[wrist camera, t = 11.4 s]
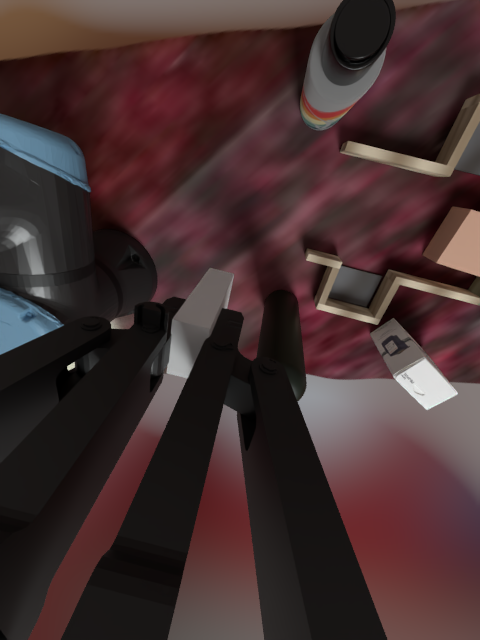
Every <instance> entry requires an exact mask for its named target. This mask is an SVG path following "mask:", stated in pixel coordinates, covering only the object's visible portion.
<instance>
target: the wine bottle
mask: <svg viewBox="0 0 480 640" xmlns="http://www.w3.org/2000/svg"><path fill="white" fill-rule="evenodd" d="M258 357H268V358H272V359H274V360H276V361H278V362H279V363H280V364H282V365H283V367H284V368H285V370H286V373H287V376H288V378H289V381H290V383H291V386H292V389H293V391H294V394H295V397H296V399H297V401H299V400H300V399H301V397H302V396H303V394H304V392H305V389H306V373H305V364H304V354H303V345H302V336H301V326H300V317H299V307H298V301H297V299H296V297H295V296H294V295H293V294H292V293H291V292H289V291H285V290H278V291H275V292H273V293H271V294H270V295H269V296H268V297H267V299H266V301H265V306H264V313H263V319H262V325H261V332H260V338H259V345H258V351H257V358H258Z"/></svg>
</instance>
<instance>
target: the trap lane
mask: <svg viewBox="0 0 480 640" xmlns="http://www.w3.org/2000/svg"><path fill="white" fill-rule="evenodd" d="M340 153H343V154H347V155H351V156H355V157H359V158H363V159H367V160H371V161H375V162H379V163H383V164H387V165H391V166H395V167H399V168H403V169H407V170H411V171H415V172H419V173H423V174H427V175H431V176H435V177H450V176H451V174H452V172H453V170H454V169H455V170H459V171H463V172H467V173H471V174H475V175H479V176H480V94H477V95H475V96H473V97H470V98H468V99H466V100H465V102H464V104H463V106H462V108H461V110H460V112H459V114H458V116H457V118H456V120H455V122H454V124H453V126H452V128H451V130H450V132H449V134H448V136H447V139H446V141H445V143H444V145H443V147H442V149H441V151H440V153H439V155H438V157H437V159H436V161H435V162H432V161H428V160H424V159H420V158H415V157H411V156H407V155H403V154H399V153H395V152H391V151H387V150H383V149H379V148H375V147H371V146H367V145H363V144H359V143H355V142H351V141H347V142H345V143H343V145H342V148H341V150H340ZM305 257H306V260H307V261H311V262H315V263H319V264H322V265H326V266H327V268H326V271H325V273H324V276H323V279H322V281H321V284H320V286H319V289H318V291H317V294H316V296H315V299H314V302H315V306H316V309H319V310H323V311H327V312H330V313H334V314H338V315H342V316H345V317H349V318H353V319H357V320H361V321H364V322H368V323H372V324H376V325H378V323H379V322H380V320H381V318H382V316H383V314H384V313H385V311H386V309H387V307H388V305H389V304H390V302H391V300H392V298H393V296H394V294H395V293H396V291H397V289H398V287H399V285H403V286H407V287H411V288H415V289H418V290H422V291H426V292H430V293H434V294H438V295H442V296H445V297H449V298H453V299H457V300H461V301H465V302H468V303H472V304H476V305H480V277H479V276H477V277H476V279H475V280H474V282H473V283H472V284H471V286H470V287H469V289H468V290H466V289H463V288H459V287H455V286H451V285H447V284H443V283H439V282H436V281H432V280H428V279H424V278H420V277H416V276H412V275H409V274H405V273H401V272H397V271H393V270H389V269H388V271H387V273H386V275H385V277H384V279H383V281H382V283H381V285H380V287H379V289H378V291H377V292H376V294H375V296H374V298H373V300H372V302H371V304H370V306H369V308H365V307H367V305H368V303H369V301H370V299H371V297H372V295H373V293H374V291H375V289H376V287H377V286H378V284H379V282H380V280H381V278H382V276H380V275H376V274H372V273H368V272H364V271H361V270H357V269H353V268H349V267H345V266H341V264H342V261H341V260H340V258H339V257H338V256H335V255H331V254H328V253H324V252H320V251H316V250H312V249H308V248H307V250H306V252H305ZM328 297H330V298H334V299H337V300H334V299H330V298H328ZM338 300H341V301H338ZM342 301H345V302H342ZM346 302H349V303H353V304H356V305H353V304H349V303H346ZM357 305H360V306H357ZM361 306H364V307H361Z"/></svg>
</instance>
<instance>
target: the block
mask: <svg viewBox="0 0 480 640" xmlns="http://www.w3.org/2000/svg"><path fill="white" fill-rule="evenodd" d="M422 255H423V256H425V257H427V258H428V259H430V260H432V261H434V262H436V263H438V264H441V265H444V266H448V267H451V268H454V269H457V270H460V271H463V272H466V273H469V274H473V275H476V276H479V277H480V212H478V211H475V210H471V209H466V208H460V207H454V206H452V208H451V209H450V211H449V213H448V214H447V216H446V217H445V219H444V221H443V222H442V224H441V225H440V227H439V229H438V230H437V232H436V233H435V235H434V237H433V238H432V240H431V241H430V243H429V245H428V246H427V248H426V249H425V251H424V253H423V254H422Z"/></svg>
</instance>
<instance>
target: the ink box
mask: <svg viewBox="0 0 480 640" xmlns="http://www.w3.org/2000/svg"><path fill="white" fill-rule="evenodd" d="M370 335H371V337H372V339H373V341H374V343H375V345H376V346H377V348H378V350H379V352H380V353H381V355H382V357H383V359H384V361H385V363H386V364H387V366H388V368H389V370H390V372H391V373H392V375H393V377H394V378H395V379H396V381H398V382H399V383H400V384H401V386H402V387H404V388H405V389H406V390H407V391H408V392H409V394H410V395H412V396H413V397H414V398H415V399H416V400H417V401H418V402H419V403H420V404H421V405H422V406H423V407H424V408H425V409H426V410H428V409H430V408H432V407H434V406H436V405H438V404H440V403H442V402H444V401H446V400H448V399H450V398H452V397H454V396H456V395H457V394H458V392H457V391H456V390H455V388H454V387H453V386H452V385H451V384H450V382H449V381H448V380H447V379H446V377H445V376H444V375H443V373H442V372H441V371H440V370H439V368H438V367H437V366H436V365H435V363H434V362H433V361H432V360H431V358H430V357H429V356H428V355H427V354H426V352H425V351H424V350H423V349H422V348H421V347H420V345H419V344H418V343H417V342H416V341H415V340H414V339H413V338H412V337H411V336H410V335H409V334H408V333H407V331H406V330H405V329H404V328H403V327H402V326H401V325H400V324H399V323H398V322H397V321H396V320H395V319H394V318H392V319H391V320H389V321H388V322H386V323H385V324H383V325H382V326H381V327H379V328H378V329H376V330H375V331H373V332H371V333H370Z"/></svg>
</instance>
